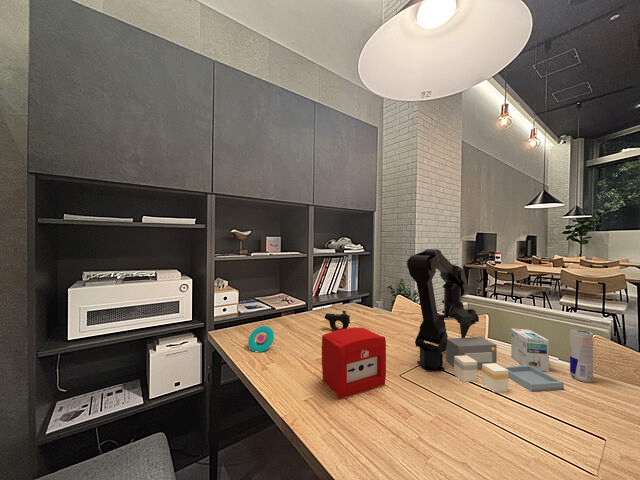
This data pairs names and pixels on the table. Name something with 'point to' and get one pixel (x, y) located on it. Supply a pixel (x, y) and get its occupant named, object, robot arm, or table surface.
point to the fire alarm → (353, 361)
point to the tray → (533, 378)
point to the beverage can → (581, 355)
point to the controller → (338, 317)
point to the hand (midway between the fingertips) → (452, 339)
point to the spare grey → (465, 368)
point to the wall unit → (471, 350)
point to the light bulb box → (530, 349)
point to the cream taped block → (495, 377)
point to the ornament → (261, 339)
